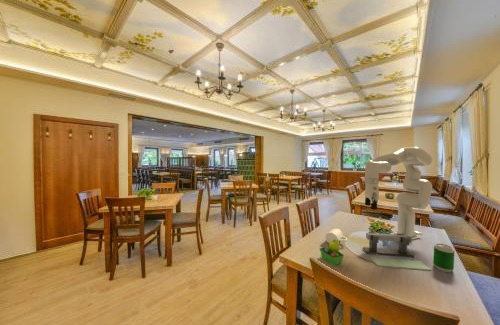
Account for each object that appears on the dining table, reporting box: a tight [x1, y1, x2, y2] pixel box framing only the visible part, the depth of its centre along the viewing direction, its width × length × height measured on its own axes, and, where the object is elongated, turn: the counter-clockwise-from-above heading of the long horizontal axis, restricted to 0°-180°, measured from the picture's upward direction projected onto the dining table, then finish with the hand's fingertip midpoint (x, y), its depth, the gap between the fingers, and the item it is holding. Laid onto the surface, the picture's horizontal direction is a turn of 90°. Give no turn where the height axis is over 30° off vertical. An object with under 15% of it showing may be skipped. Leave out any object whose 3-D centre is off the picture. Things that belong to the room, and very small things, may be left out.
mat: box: [370, 256, 432, 272], centre depth 106 cm, size 25×8×1 cm, turn 81°
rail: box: [365, 232, 412, 243], centre depth 118 cm, size 23×3×3 cm, turn 81°
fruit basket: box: [319, 239, 345, 266], centre depth 110 cm, size 11×9×11 cm
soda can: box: [432, 243, 455, 273], centre depth 102 cm, size 8×8×12 cm
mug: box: [325, 228, 348, 245], centre depth 131 cm, size 12×10×8 cm
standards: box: [362, 231, 415, 258], centre depth 118 cm, size 25×6×11 cm, turn 81°
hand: (370, 207), depth 127 cm, fingers open, 9 cm apart
